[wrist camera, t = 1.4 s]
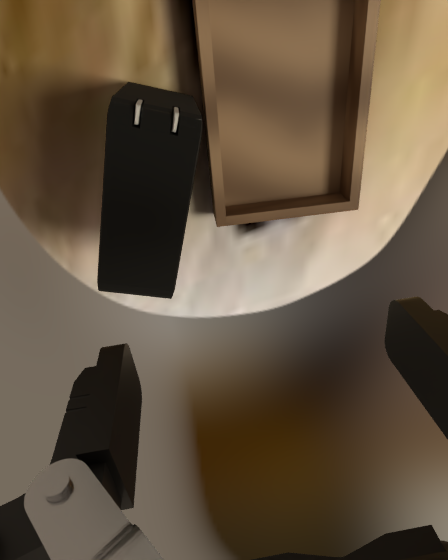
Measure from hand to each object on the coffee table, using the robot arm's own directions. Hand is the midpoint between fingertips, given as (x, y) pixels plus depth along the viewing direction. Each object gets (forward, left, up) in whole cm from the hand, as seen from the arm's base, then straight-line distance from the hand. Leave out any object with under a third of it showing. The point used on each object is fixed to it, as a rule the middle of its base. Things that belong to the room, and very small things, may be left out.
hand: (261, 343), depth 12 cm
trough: (-5, +5, -19) cm, 20 cm away
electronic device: (-1, -4, -20) cm, 20 cm away
